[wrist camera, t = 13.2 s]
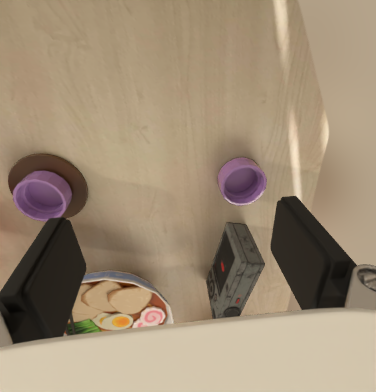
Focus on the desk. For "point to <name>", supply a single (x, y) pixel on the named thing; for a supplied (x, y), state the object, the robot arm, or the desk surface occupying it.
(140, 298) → the ramen bowl
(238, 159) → the dish
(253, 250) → the camera
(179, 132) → the desk surface
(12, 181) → the coaster
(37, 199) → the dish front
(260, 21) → the desk surface
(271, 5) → the desk surface
